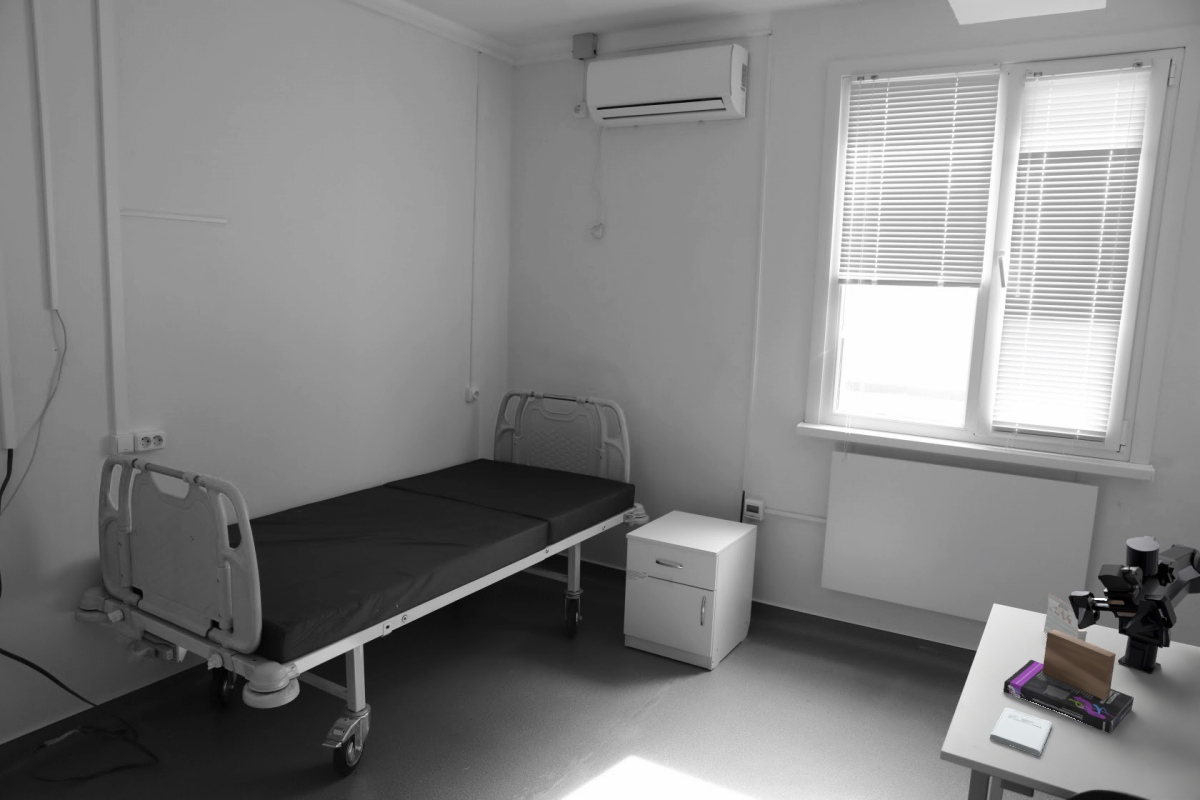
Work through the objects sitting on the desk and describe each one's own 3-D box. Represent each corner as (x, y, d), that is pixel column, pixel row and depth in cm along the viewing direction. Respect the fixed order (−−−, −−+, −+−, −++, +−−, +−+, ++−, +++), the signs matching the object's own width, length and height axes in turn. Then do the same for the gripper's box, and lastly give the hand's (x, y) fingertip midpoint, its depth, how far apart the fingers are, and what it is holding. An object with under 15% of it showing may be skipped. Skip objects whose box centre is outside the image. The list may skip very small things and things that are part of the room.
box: (1002, 696, 166) (1110, 738, 152) (1003, 680, 166) (1112, 720, 151) (1028, 674, 175) (1133, 711, 161) (1030, 658, 175) (1135, 695, 161)
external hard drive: (989, 741, 149) (1004, 713, 159) (1039, 759, 144) (1051, 729, 154) (990, 733, 148) (1005, 705, 158) (1040, 750, 144) (1052, 721, 153)
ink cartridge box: (1052, 630, 196) (1058, 592, 194) (1084, 652, 185) (1090, 612, 183) (1042, 630, 196) (1048, 592, 194) (1074, 652, 185) (1080, 612, 183)
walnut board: (1048, 669, 170) (1054, 629, 169) (1109, 696, 160) (1115, 653, 159) (1042, 672, 169) (1047, 631, 167) (1102, 699, 159) (1109, 656, 157)
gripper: (1077, 556, 178) (1042, 590, 170) (1171, 557, 162) (1139, 594, 154) (1094, 602, 179) (1061, 638, 171) (1190, 607, 163) (1158, 648, 155)
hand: (1102, 629), depth 163 cm, fingers open, 9 cm apart
